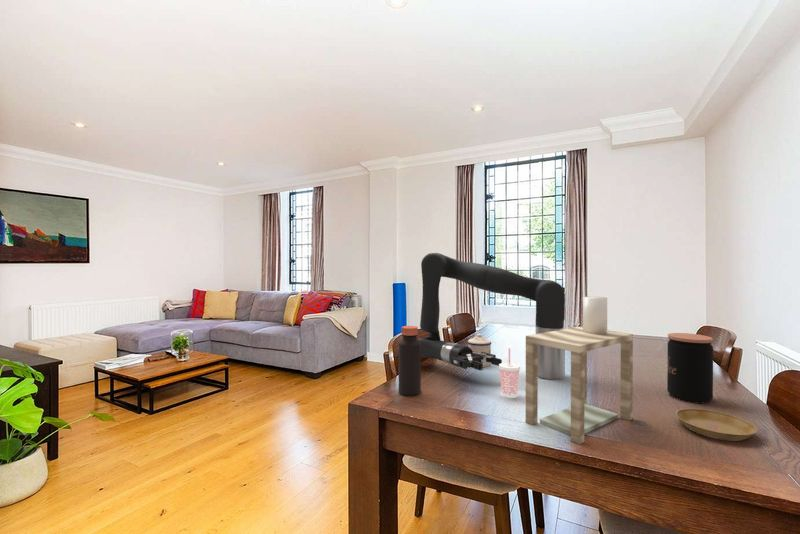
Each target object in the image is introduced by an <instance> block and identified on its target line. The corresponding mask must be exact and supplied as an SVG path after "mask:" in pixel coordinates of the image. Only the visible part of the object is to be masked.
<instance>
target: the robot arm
mask: <svg viewBox="0 0 800 534" xmlns="http://www.w3.org/2000/svg"><path fill="white" fill-rule="evenodd" d="M420 263H421V265H420V266H421V279H422V280H421V281H422V299H421V309H420V323H419V325H420V326H419V327H420V330H421V331H422V332H426V333H427V334H428V335H427V336H422V337H419V338H417V340H418V341H419V342H420V344H421V358H425V359H435V360H439V361H441V362H445V363H447V364H448V365H451V366H455V367H457V368H458V367H459V368H460V369H464V370H467V369H475V370H477V371H483V369H484V367H483V365H486V364H490V365H493V366H498V367H499V364H500V363H503V361H502V360H503V359H502V358H498V357H497V356H496V354H492V353H491V354H489V353H485V352H481V353H477V352H473V351H472V350H471V348H470V347H468V345H463V344H459V343H455V342H449V341H445V340H442V339H441V335H440V334H441V333H440V330H439V322H440V312H441V311H440V309H441V308H440V297H439V295H440V283H441V278H447V279H452V280H453V279H454V280H458V281H460V282H462V283H464V284H466V285H469V286H471V287H473V288H477V289H479V290H482V291H486V292H490V293H495V294H499V295H511V296H518V297H522V298H526V299H529V300H531V301H534V302H535V334H539V333H545V332H551V331H557V330H563V329H565V319H566V318H565V316H566V293H565V289H564V287H563V286H562V285H561V284H560V283H559V282H557V281H554V280H550V279H549V280H548V279H539V278H534V277H527V276H523V275H522V274H521V275H520V274H518V273H515V272H512V271H509V270H508V269H507V270H506V269H503V268H501V267H496V266H492V265H488V264H483V263H477V262H469V261H463V260H459V259H456V258H453V257H450V256H447V255H444V254H442V253H439V252H431V253H427V254H426V255H425V256H424V257H423V258H422V260H421V262H420ZM482 360H483V361H484V362H482ZM565 376H566V350H563V349H558V348H553V347H548V346H543V345H538V378H542V379H546V380H561V379H564V378H565Z"/></svg>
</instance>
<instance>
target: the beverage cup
mask: <svg viewBox="0 0 800 534" xmlns="http://www.w3.org/2000/svg"><path fill="white" fill-rule="evenodd" d="M498 368H499V375H500V378H499V379H500V391H501V393H500V394H501V396H502V397H503V398H506V397H507V398H508V399H514V398H515V399H516V398H517V397H518V396H519V395H518V393H519V377H520V370H521V365H519V364H518V363H514V362H511V348H508V362H502V363H500V364H499V366H498Z"/></svg>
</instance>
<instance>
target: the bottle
mask: <svg viewBox="0 0 800 534" xmlns="http://www.w3.org/2000/svg"><path fill="white" fill-rule="evenodd" d="M418 331H419V329H418V327H417V326H415V325H404V326H401V337H402V339H401V340H400V341H399V342H398V393H399V394H400V393H401V394H400V395H402V394H403V396H407V395H409V396H408V397H410V396H411V397H412V395H413V396H417V395H420V393H421V392H422V390H421V389H422V387H421V386H422V383H421V382H422V379H421V378H422V377H421V376H422V375H421V374H422V370H421V369H422V367H421V366H422V364H421V361H422V360H421V358H422V357H421V344H420V342H419V341H418V340H417V339H418V338H417V337H418Z"/></svg>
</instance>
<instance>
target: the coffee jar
mask: <svg viewBox="0 0 800 534" xmlns="http://www.w3.org/2000/svg"><path fill="white" fill-rule="evenodd" d="M667 338H668V340H669V341H667V365H666V366H667V372H666V373H667V376H666V377H667V379H666V380H667V382H666V383H667V386H666V387H667V391H666V392H667V393H669V395H670V396H671V397H672V396H673V397H672V398H674V397H675V398H674V399H676V398H678V399H677V400H679V399H680V400H679V401H682V400H684V401H683V402H686V401H690V402H689V403H692V402H698V403H697V404H706V403H705V402H708V403H710V402H711V401H712V400H713V398H714V347H713V345H712V343H713V342H714V338H713V337H711V336H708V335H703V334H697V333H689V332H688V333H687V332H670V333H667ZM709 401H710V402H709ZM702 402H704V403H702Z"/></svg>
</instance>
